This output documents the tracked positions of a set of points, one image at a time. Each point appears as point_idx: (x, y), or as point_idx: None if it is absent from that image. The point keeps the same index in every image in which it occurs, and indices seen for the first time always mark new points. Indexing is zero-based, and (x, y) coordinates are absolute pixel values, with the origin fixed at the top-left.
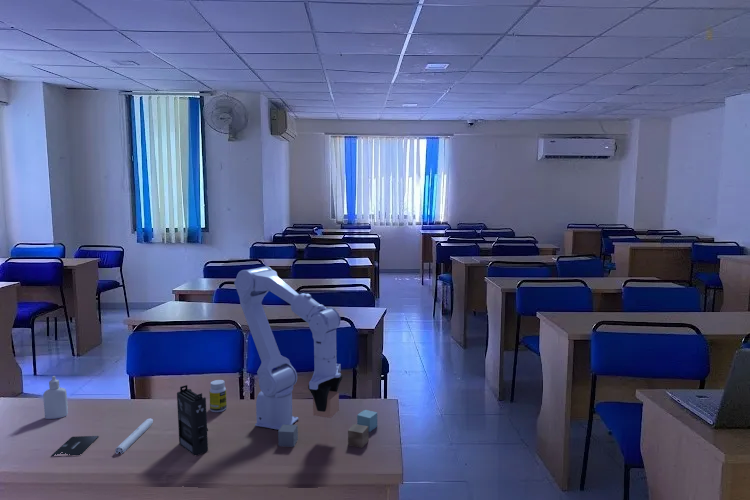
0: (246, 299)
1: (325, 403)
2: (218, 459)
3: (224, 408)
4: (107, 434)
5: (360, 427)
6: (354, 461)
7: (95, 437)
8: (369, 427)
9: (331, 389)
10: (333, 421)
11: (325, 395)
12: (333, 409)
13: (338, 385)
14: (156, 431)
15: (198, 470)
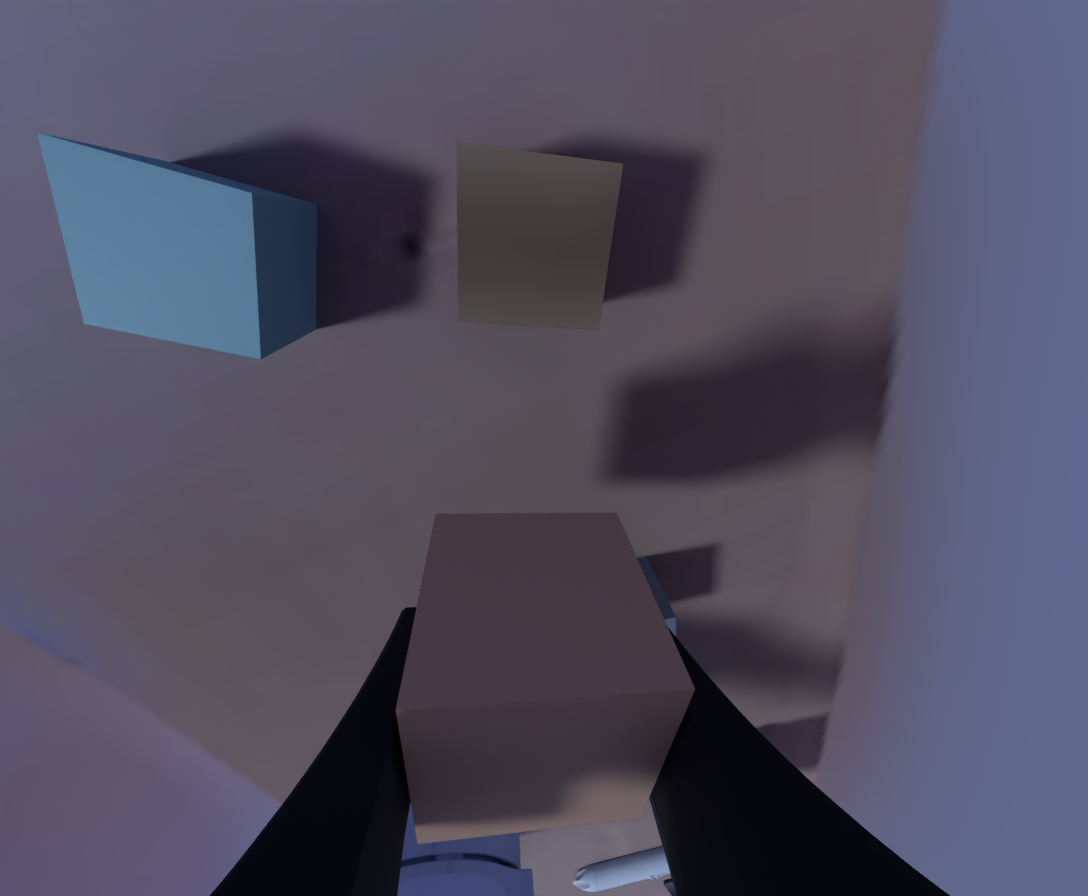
0: None
1: (700, 672)
2: (758, 695)
3: None
4: (651, 879)
5: (512, 228)
6: (782, 181)
7: (672, 882)
8: (300, 205)
9: (394, 807)
10: (306, 509)
11: (842, 810)
12: (570, 554)
13: (284, 850)
14: (618, 845)
15: (820, 699)
